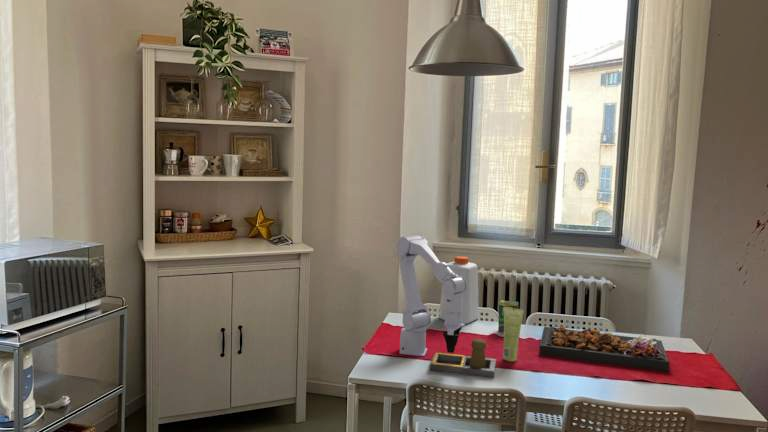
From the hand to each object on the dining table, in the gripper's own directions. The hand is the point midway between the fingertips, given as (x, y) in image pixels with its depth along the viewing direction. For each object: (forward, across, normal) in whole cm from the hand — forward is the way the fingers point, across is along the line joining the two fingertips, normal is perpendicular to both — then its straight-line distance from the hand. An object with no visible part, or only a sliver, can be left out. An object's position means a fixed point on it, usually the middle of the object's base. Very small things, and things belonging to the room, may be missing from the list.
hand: (451, 348), depth 220 cm
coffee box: (+7, +47, -18) cm, 51 cm away
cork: (+7, 0, -9) cm, 12 cm away
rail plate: (+7, 0, -4) cm, 8 cm away
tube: (+7, +14, -20) cm, 26 cm away
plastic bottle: (+7, +59, +4) cm, 60 cm away
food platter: (+8, +33, -54) cm, 64 cm away
